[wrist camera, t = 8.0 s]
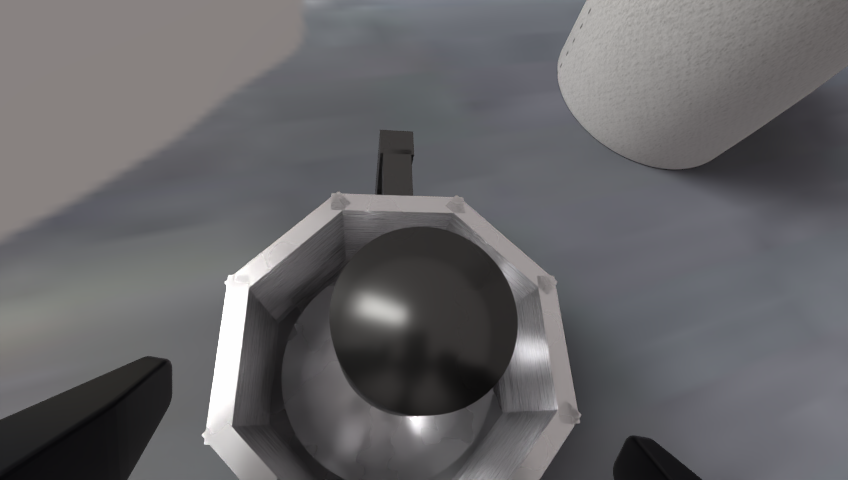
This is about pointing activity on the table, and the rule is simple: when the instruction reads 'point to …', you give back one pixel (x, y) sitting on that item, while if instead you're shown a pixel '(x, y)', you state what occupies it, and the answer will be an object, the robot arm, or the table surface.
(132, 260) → the table surface
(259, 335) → the octagonal open box
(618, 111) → the toilet paper roll
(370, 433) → the silver black coffee tamper
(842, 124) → the table surface
